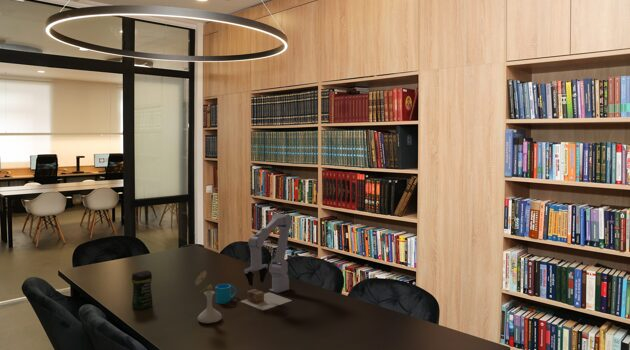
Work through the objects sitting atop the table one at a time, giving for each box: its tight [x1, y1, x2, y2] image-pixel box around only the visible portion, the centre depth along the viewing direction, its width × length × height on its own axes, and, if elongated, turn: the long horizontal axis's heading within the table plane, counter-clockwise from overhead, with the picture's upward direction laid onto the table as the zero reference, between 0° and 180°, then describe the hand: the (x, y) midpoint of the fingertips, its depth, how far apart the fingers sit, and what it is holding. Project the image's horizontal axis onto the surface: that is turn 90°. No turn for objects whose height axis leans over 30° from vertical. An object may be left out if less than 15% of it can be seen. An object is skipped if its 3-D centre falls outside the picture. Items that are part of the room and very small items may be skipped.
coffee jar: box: [131, 270, 153, 310], centre depth 236 cm, size 10×8×19 cm
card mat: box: [240, 291, 293, 311], centre depth 244 cm, size 20×19×1 cm
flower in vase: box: [194, 270, 223, 324], centre depth 217 cm, size 13×11×25 cm
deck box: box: [246, 288, 265, 304], centre depth 244 cm, size 8×5×5 cm, turn 46°
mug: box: [215, 283, 237, 305], centre depth 247 cm, size 12×8×8 cm
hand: (256, 283), depth 245 cm, fingers open, 7 cm apart
